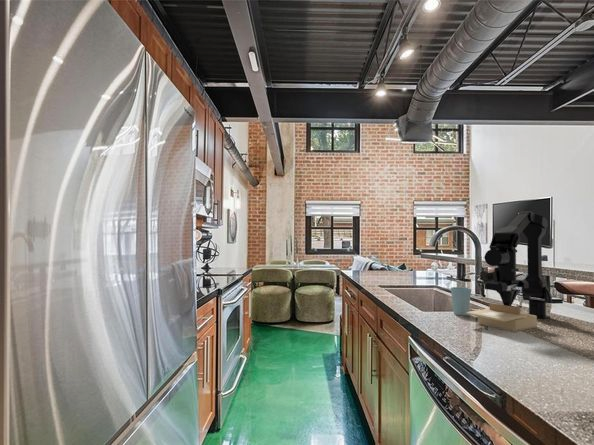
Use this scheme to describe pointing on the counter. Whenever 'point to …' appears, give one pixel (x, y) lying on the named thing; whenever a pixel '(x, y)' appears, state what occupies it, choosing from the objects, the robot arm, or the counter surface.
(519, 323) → the box
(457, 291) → the cup
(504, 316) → the lid
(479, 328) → the counter surface
